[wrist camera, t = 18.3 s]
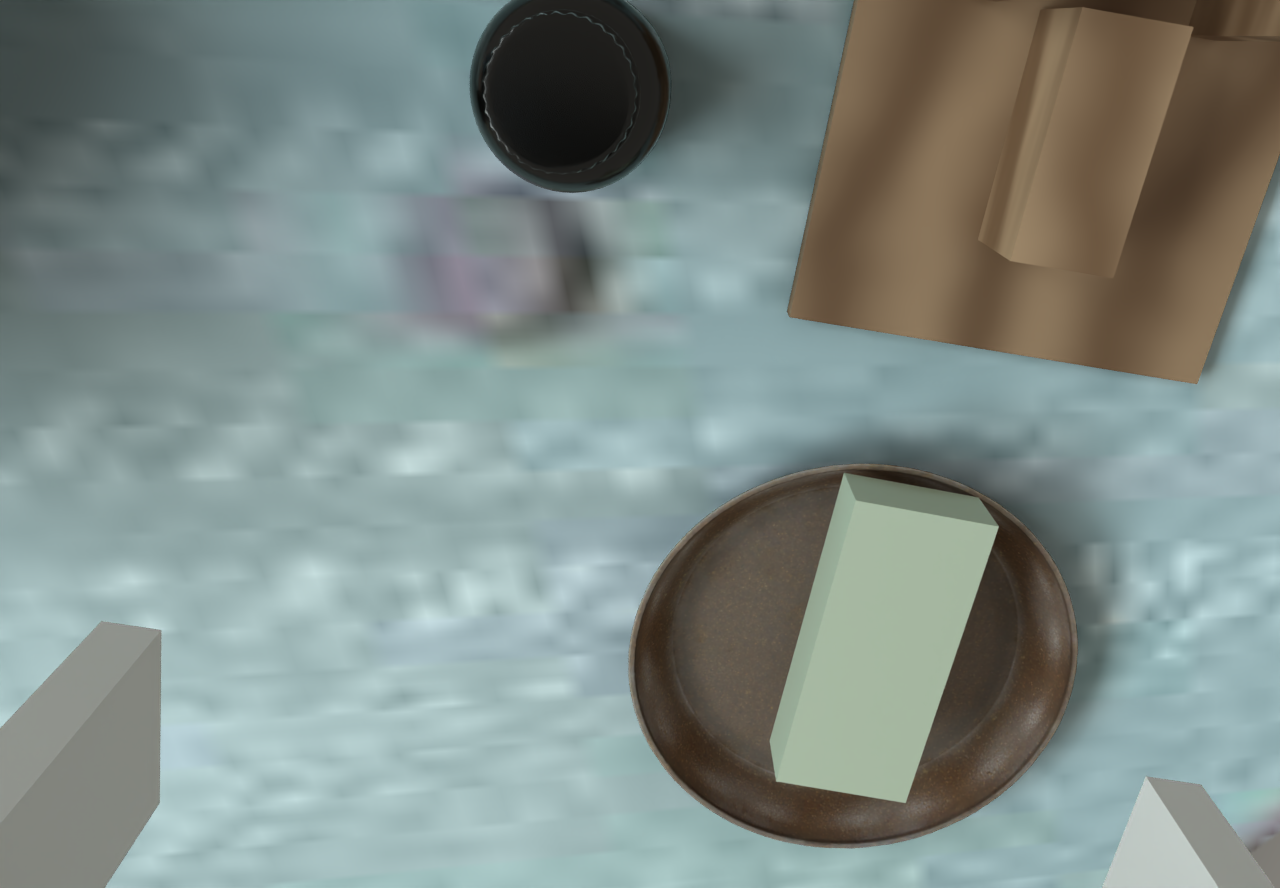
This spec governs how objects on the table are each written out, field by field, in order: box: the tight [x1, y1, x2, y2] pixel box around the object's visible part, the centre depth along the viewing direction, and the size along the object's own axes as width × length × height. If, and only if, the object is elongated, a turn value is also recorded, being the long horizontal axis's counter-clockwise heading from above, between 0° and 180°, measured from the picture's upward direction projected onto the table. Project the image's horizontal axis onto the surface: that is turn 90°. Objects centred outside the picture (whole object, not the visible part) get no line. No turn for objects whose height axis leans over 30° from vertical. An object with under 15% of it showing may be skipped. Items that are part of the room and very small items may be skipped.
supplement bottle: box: [470, 0, 671, 193], centre depth 39 cm, size 7×7×12 cm
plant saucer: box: [629, 464, 1078, 848], centre depth 52 cm, size 21×21×3 cm
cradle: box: [787, 0, 1280, 384], centre depth 40 cm, size 18×26×8 cm
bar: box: [770, 473, 999, 803], centre depth 48 cm, size 6×14×3 cm, turn 169°
